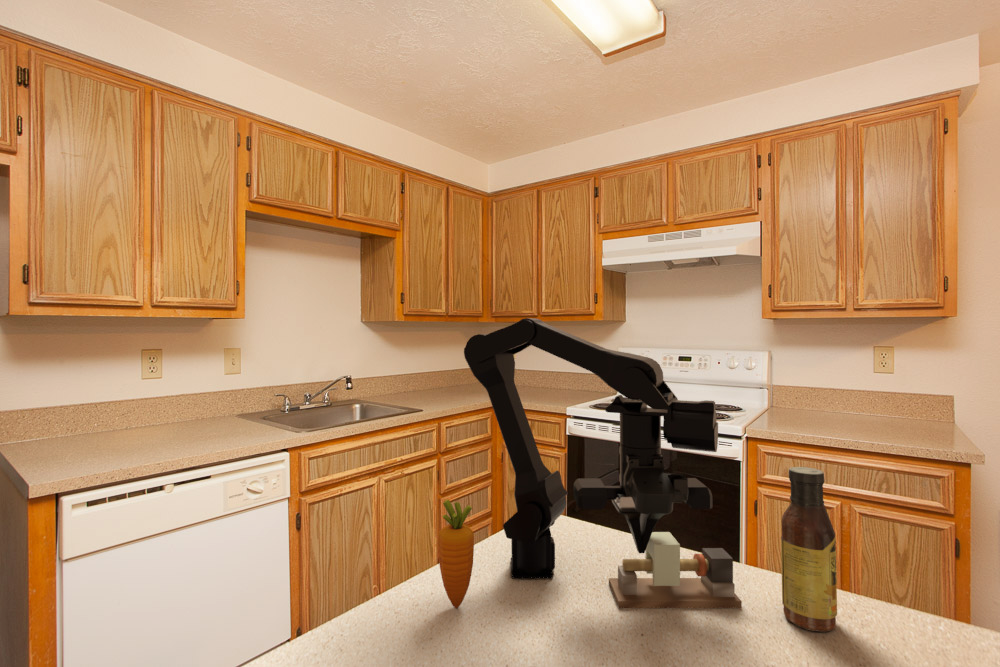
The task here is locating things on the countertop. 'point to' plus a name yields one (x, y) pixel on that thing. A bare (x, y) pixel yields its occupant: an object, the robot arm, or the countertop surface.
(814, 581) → the sauce bottle
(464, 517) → the carrot
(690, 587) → the cable stand
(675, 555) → the cream block
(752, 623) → the countertop surface
